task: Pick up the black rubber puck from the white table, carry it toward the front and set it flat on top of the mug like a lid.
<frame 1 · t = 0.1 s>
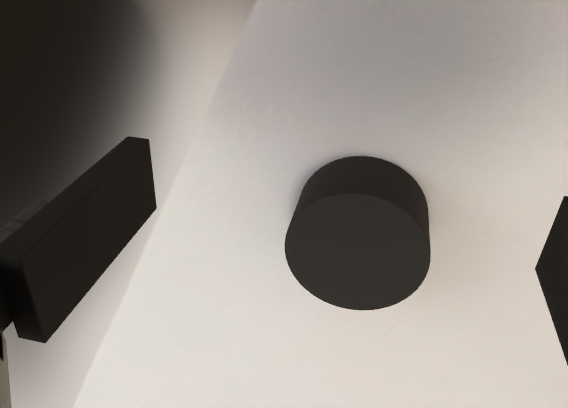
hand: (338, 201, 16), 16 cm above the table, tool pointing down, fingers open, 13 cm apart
puck: (361, 213, 35), on the table
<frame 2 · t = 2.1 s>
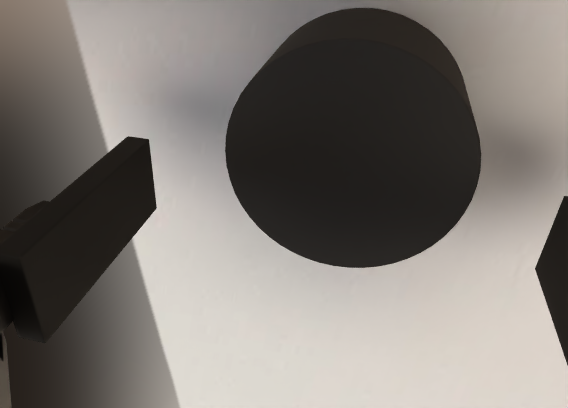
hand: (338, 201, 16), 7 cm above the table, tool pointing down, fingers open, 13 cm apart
puck: (358, 116, 22), on the table
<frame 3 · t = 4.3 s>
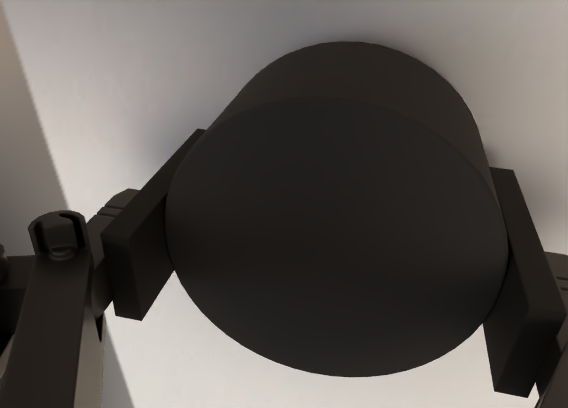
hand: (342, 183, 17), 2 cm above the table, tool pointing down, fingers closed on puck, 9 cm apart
puck: (344, 173, 17), point 2 cm above the table, touching gripper
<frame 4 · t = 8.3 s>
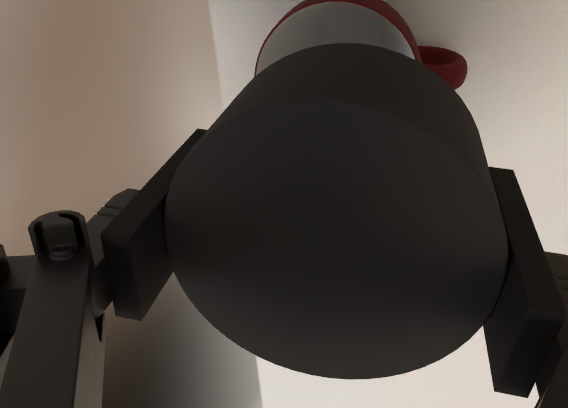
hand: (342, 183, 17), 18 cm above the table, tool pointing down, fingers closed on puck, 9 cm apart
mug: (373, 38, 32), on the table
puck: (344, 174, 17), point 18 cm above the table, touching gripper
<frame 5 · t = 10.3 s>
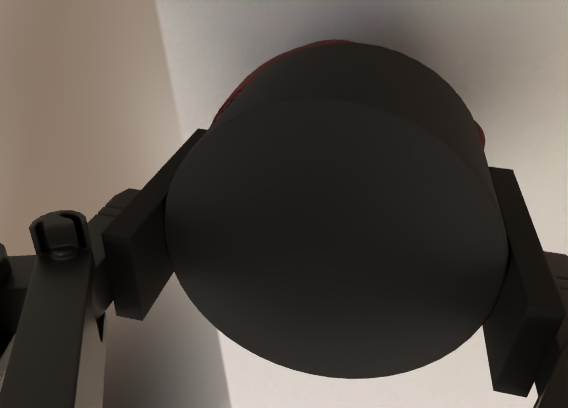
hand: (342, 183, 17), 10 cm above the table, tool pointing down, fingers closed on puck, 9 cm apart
mug: (365, 88, 26), on the table
puck: (344, 174, 17), point 10 cm above the table, touching gripper
when the fingers open (10 cm above the table, at t = 12.5 s): puck stays where it is, resting on mug.
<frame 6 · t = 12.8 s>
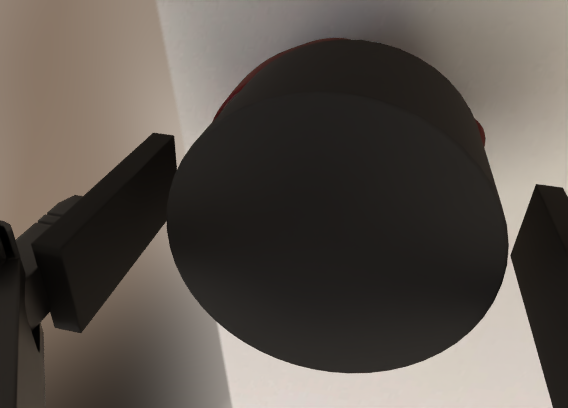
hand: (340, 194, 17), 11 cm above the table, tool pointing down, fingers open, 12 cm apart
mug: (365, 86, 26), on the table, touching puck
puck: (345, 171, 17), point 10 cm above the table, touching mug
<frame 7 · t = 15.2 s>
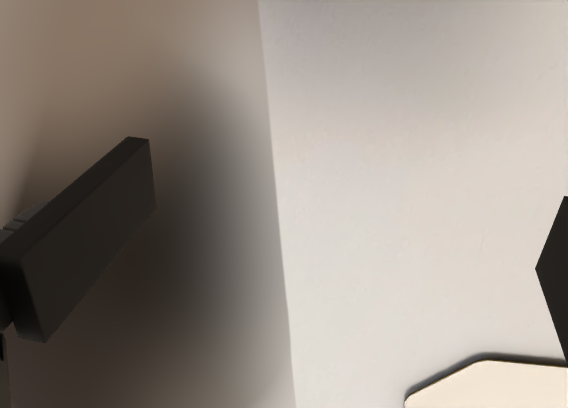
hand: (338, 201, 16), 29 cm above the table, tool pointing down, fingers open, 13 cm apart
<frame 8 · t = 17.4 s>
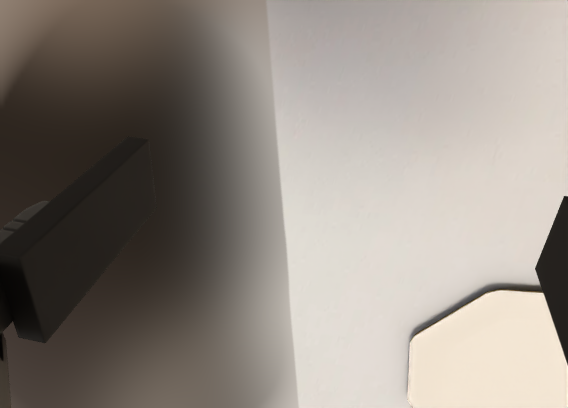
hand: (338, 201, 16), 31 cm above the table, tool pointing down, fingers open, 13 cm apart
plate: (528, 374, 59), on the table
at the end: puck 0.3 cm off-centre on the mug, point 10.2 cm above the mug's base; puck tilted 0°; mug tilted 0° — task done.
